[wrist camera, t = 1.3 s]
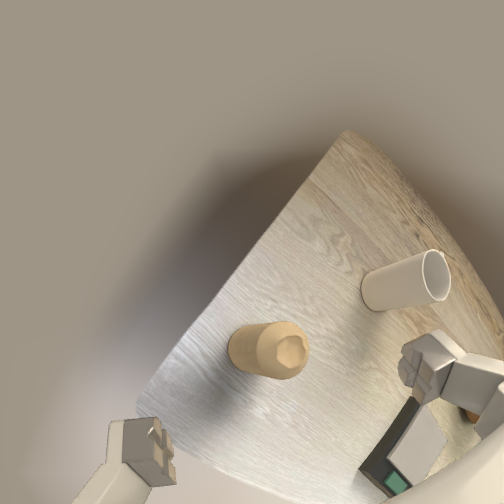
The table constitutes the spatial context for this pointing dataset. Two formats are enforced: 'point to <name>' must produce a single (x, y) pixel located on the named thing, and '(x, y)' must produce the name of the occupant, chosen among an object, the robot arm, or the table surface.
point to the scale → (405, 450)
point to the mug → (408, 282)
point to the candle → (270, 349)
